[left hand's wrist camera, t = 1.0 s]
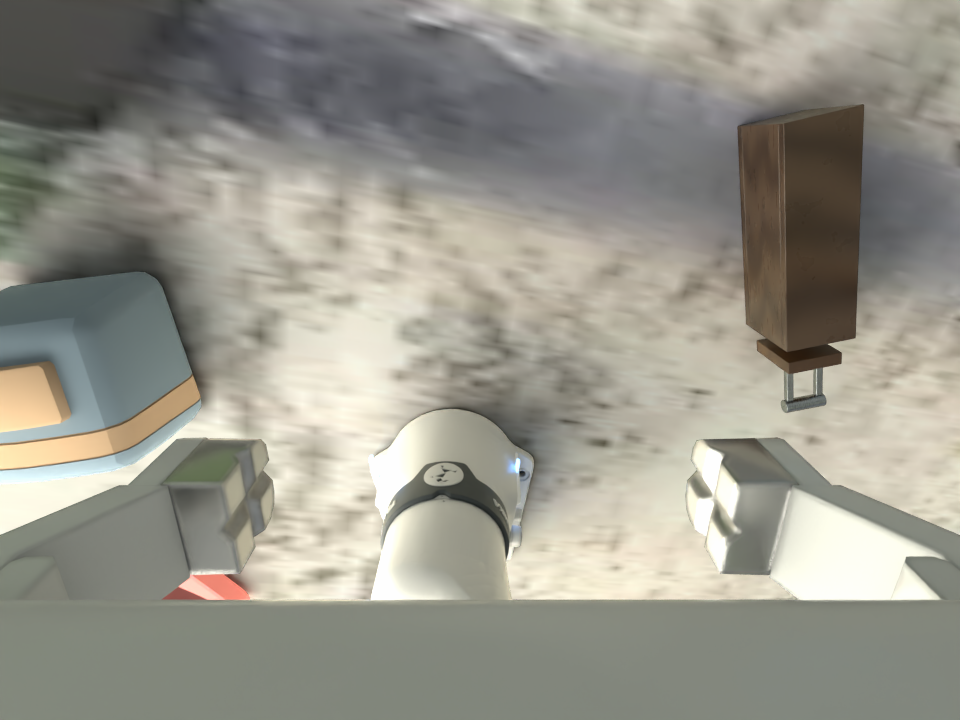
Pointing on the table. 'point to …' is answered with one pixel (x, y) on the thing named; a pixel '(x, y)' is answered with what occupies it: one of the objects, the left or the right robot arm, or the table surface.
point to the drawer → (801, 370)
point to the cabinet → (802, 224)
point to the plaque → (208, 589)
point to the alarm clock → (88, 376)
